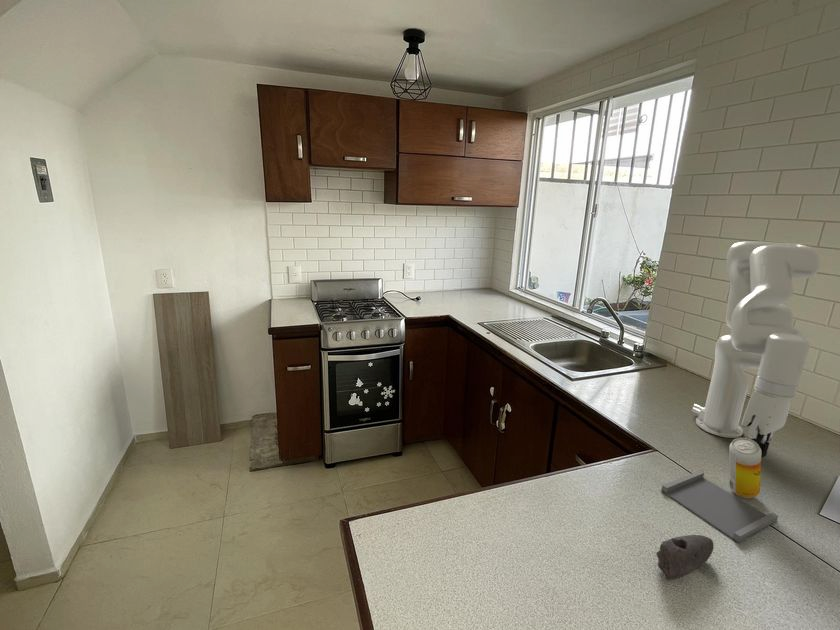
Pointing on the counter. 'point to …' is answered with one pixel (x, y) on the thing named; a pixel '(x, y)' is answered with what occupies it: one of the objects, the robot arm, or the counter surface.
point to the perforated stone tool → (683, 555)
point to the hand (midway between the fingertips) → (756, 454)
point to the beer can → (745, 467)
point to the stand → (718, 506)
